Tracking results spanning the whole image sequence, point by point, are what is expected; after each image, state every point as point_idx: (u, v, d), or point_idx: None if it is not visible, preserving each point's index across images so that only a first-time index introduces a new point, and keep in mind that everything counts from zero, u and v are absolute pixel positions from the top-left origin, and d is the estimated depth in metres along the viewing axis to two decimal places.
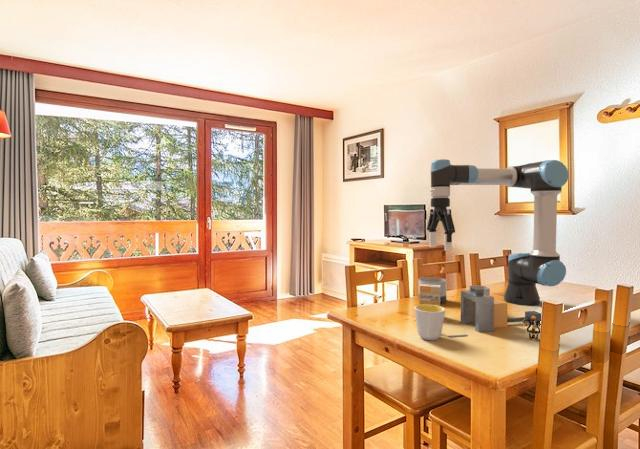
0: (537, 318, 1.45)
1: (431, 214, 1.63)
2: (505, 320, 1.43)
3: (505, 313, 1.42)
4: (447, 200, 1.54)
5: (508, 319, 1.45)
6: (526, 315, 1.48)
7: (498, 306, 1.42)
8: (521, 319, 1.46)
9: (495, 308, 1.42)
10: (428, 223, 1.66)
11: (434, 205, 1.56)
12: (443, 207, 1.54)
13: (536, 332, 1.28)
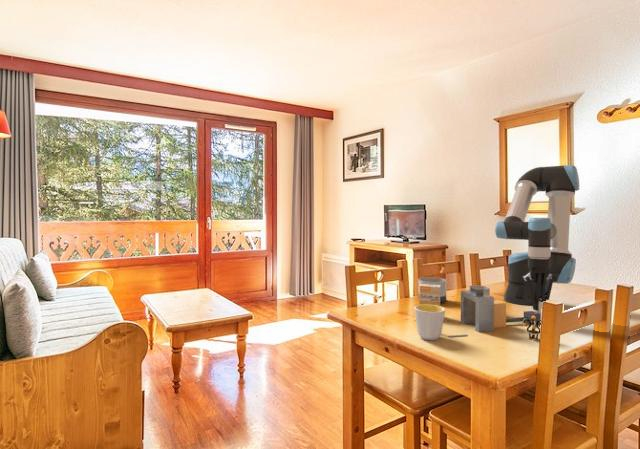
0: (536, 318, 1.45)
1: (546, 278, 1.49)
2: (504, 320, 1.42)
3: (504, 313, 1.42)
4: (533, 261, 1.45)
5: (507, 319, 1.45)
6: (525, 315, 1.48)
7: (497, 306, 1.42)
8: (520, 319, 1.46)
9: (494, 308, 1.41)
10: None
11: None
12: (529, 268, 1.47)
13: (536, 332, 1.28)
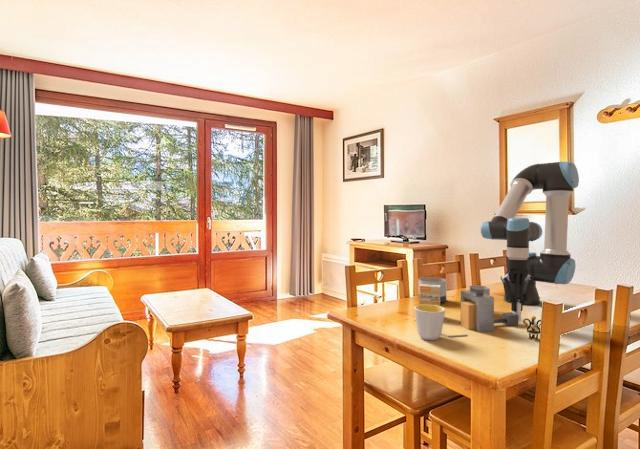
0: (514, 319, 1.44)
1: (525, 279, 1.47)
2: None
3: None
4: (511, 262, 1.43)
5: None
6: (503, 316, 1.46)
7: (474, 307, 1.40)
8: (498, 320, 1.44)
9: (471, 309, 1.40)
10: None
11: None
12: (507, 269, 1.45)
13: (536, 332, 1.28)
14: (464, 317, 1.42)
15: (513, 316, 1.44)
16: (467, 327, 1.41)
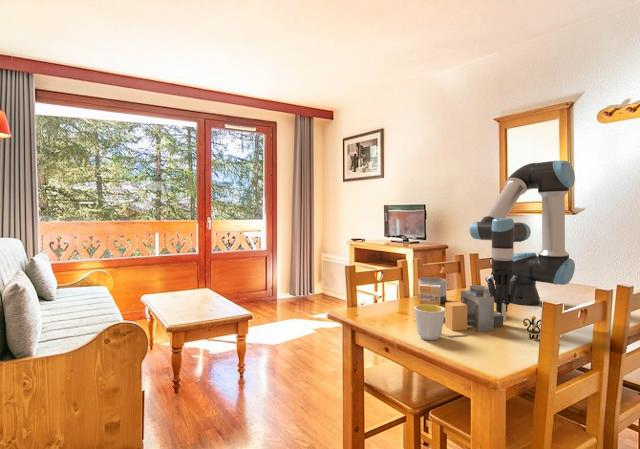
0: (498, 320, 1.43)
1: (510, 280, 1.46)
2: (465, 322, 1.40)
3: (465, 315, 1.40)
4: (496, 263, 1.42)
5: (469, 321, 1.42)
6: None
7: (458, 308, 1.39)
8: None
9: (455, 310, 1.39)
10: None
11: None
12: (492, 270, 1.44)
13: (536, 332, 1.28)
14: (448, 318, 1.41)
15: (498, 317, 1.43)
16: (451, 328, 1.40)
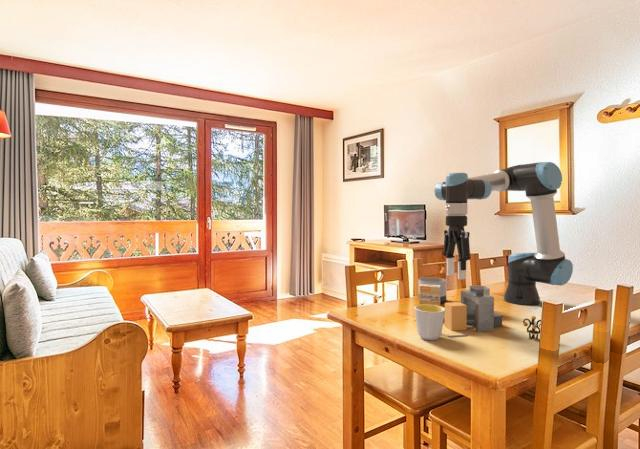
0: (498, 320, 1.43)
1: (446, 235, 1.45)
2: (465, 322, 1.40)
3: (464, 315, 1.40)
4: (465, 218, 1.37)
5: (468, 322, 1.42)
6: None
7: (457, 308, 1.39)
8: None
9: (454, 310, 1.39)
10: (444, 247, 1.47)
11: (450, 224, 1.38)
12: (460, 226, 1.37)
13: (536, 332, 1.28)
14: (447, 318, 1.41)
15: (497, 317, 1.43)
16: (450, 328, 1.39)
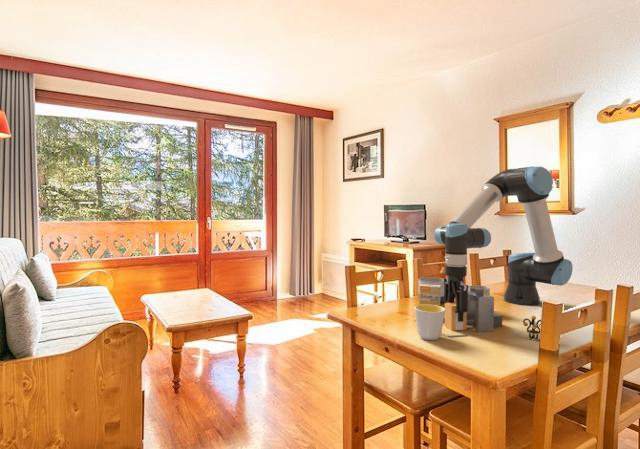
0: (498, 320, 1.43)
1: (446, 284, 1.46)
2: (465, 322, 1.40)
3: (464, 315, 1.40)
4: (464, 270, 1.38)
5: (468, 322, 1.42)
6: None
7: None
8: None
9: (454, 310, 1.39)
10: (444, 296, 1.47)
11: (449, 275, 1.39)
12: (459, 278, 1.37)
13: (536, 332, 1.28)
14: (447, 318, 1.41)
15: (497, 317, 1.43)
16: (450, 328, 1.39)
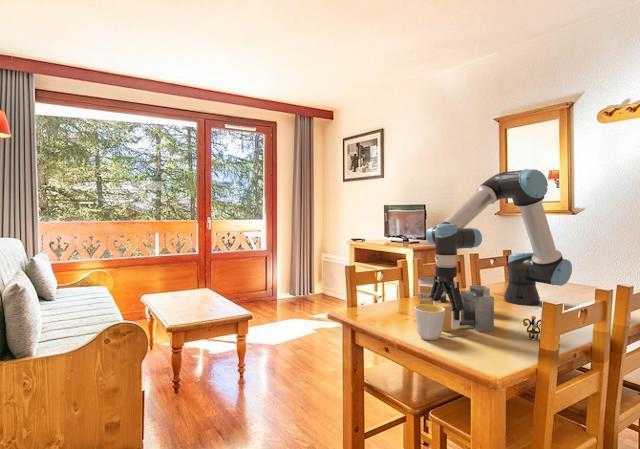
0: None
1: (435, 282, 1.46)
2: None
3: None
4: (454, 270, 1.37)
5: None
6: None
7: (448, 309, 1.38)
8: (472, 322, 1.42)
9: None
10: (432, 290, 1.49)
11: (439, 275, 1.38)
12: (450, 278, 1.37)
13: (536, 332, 1.28)
14: None
15: None
16: None
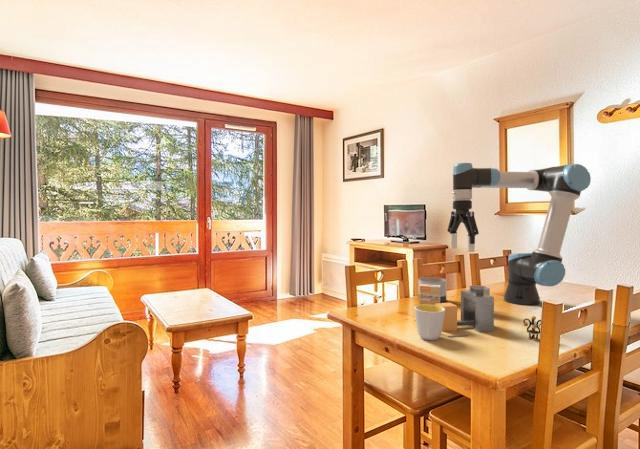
0: None
1: (452, 216, 1.67)
2: (455, 323, 1.39)
3: (455, 316, 1.39)
4: (469, 202, 1.58)
5: (459, 322, 1.41)
6: None
7: (448, 309, 1.38)
8: (472, 322, 1.42)
9: None
10: (449, 225, 1.70)
11: (457, 207, 1.59)
12: (466, 209, 1.57)
13: (536, 332, 1.28)
14: None
15: None
16: None
